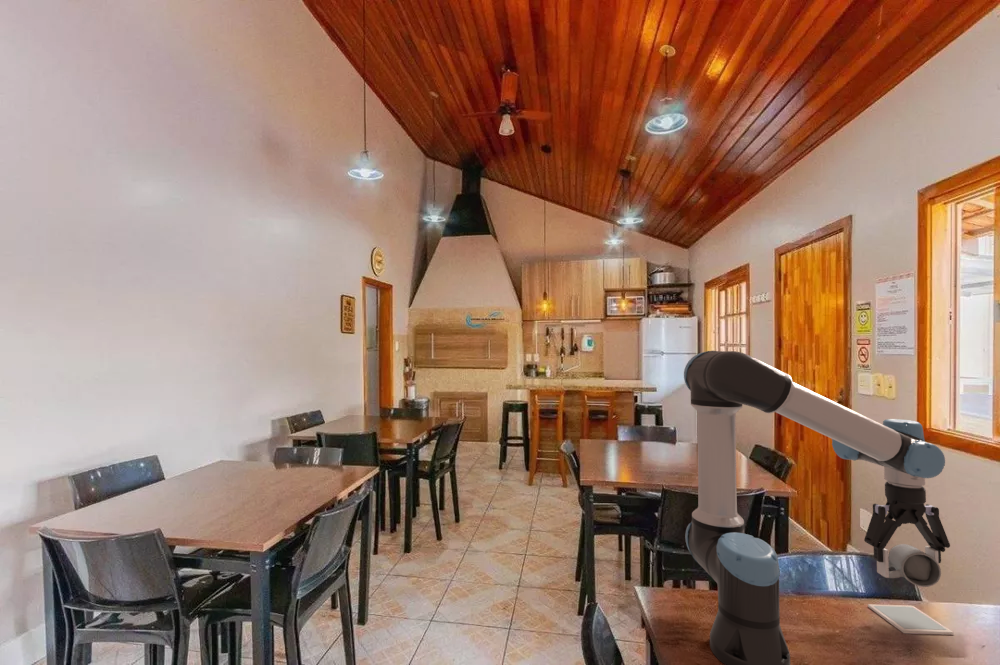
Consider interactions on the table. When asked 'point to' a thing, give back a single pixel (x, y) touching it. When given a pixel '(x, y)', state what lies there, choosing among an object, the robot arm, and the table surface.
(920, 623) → the plate
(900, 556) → the ceramic mug
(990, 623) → the table surface
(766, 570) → the robot arm
